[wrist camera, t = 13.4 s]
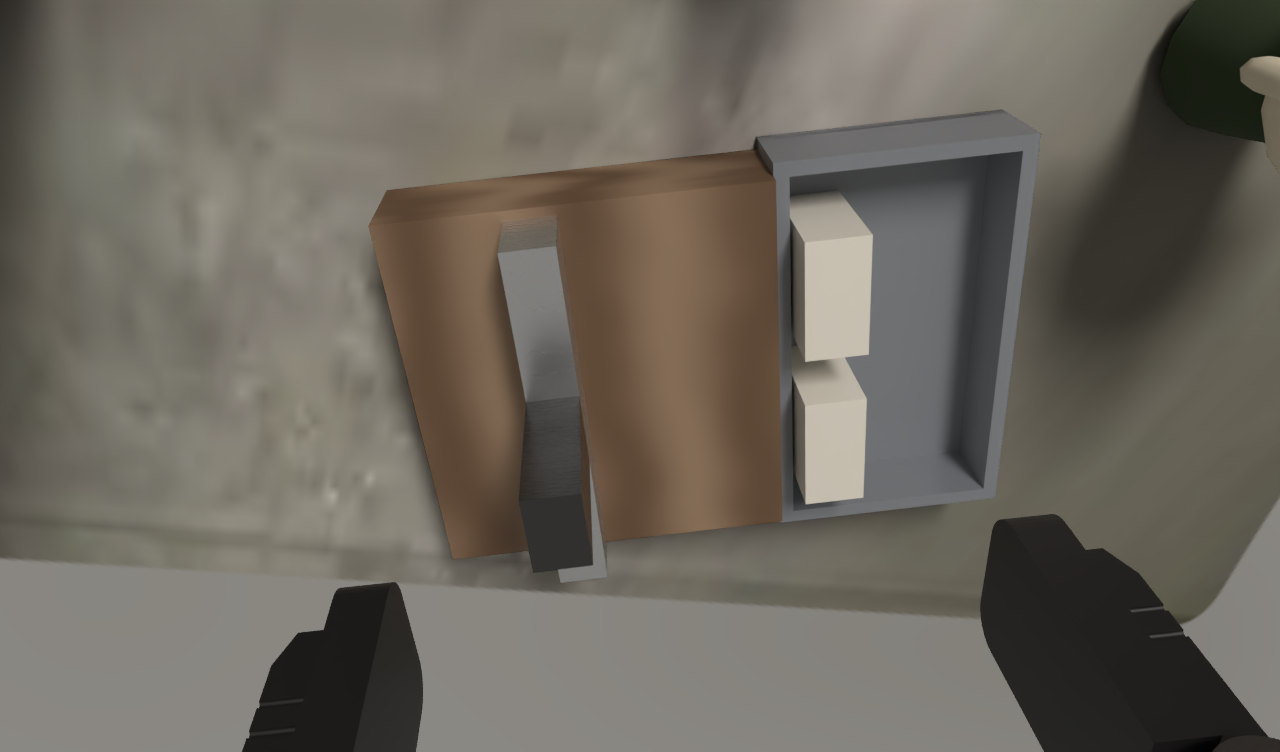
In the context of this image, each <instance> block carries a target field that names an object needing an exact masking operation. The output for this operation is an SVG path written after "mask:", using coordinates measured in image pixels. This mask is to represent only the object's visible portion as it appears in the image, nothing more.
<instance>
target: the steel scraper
mask: <svg viewBox="0 0 1280 752" xmlns="http://www.w3.org/2000/svg"><path fill="white" fill-rule="evenodd" d="M498 259H499V264H500V269H501V274H502V279H503V285H504V290H505V295H506V300H507V306H508V311H509V316H510V321H511V327H512V332H513V337H514V342H515V347H516V353H517V358H518V363H519V368H520V374H521V379H522V384H523V389H524V395H525V400H526V409H525V422H524V435H523V449H522V462H521V475H520V488H519V506H520V511H521V516H522V520H523V525H524V530H525V535H526V539H527V544H528V549H529V554H530V559H531V563H532V568H533V573H535V572H543V571H551V570H558V572H559V578H560V583H564V582H572V581H580V580H588V579H596V578H605V577H608V574H607V555H606V537H605V527H604V520H603V514H602V507H601V501H600V494H599V487H598V481H597V474H596V468H595V461H594V455H593V448H592V442H591V435H590V429H589V422H588V416H587V409H586V403H585V396H584V389H583V383H582V376H581V370H580V363H579V357H578V350H577V344H576V337H575V331H574V324H573V318H572V311H571V305H570V298H569V291H568V285H567V278H566V272H565V265H564V259H563V252H562V246H561V239H560V233H559V226H558V220H557V216H549V217H540V218H532V219H523V220H515V221H507V222H503V224H502V230H501V236H500V241H499V247H498Z"/></svg>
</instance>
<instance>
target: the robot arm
mask: <svg viewBox="0 0 1280 752" xmlns="http://www.w3.org/2000/svg"><path fill="white" fill-rule="evenodd" d="M980 611H981V622H982V627H983V631H984V635H985V638H986V641H987V644H988V647H989V649H990V651H991V653H992V655H993V657H994V658H995V660H996V662H997V664H998V666H999V668H1000V670H1001V671H1002V673H1003V675H1004V677H1005V679H1006V681H1007V683H1008V685H1009V686H1010V688H1011V690H1012V692H1013V694H1014V696H1015V698H1016V700H1017V701H1018V703H1019V705H1020V707H1021V709H1022V711H1023V713H1024V715H1025V717H1026V718H1027V720H1028V722H1029V724H1030V726H1031V728H1032V730H1033V732H1034V734H1035V735H1036V737H1037V739H1038V741H1039V743H1040V745H1041V746H1042V749H1043V750H1044V752H1280V740H1279V739H1275V738H1270V737H1268V736H1267V735H1266V733H1265V732H1264V731H1263V730H1262V729H1261V727H1260V726H1259V725H1258V724H1257V722H1256V721H1255V720H1254V719H1253V717H1252V716H1251V715H1250V713H1249V712H1248V711H1247V710H1246V708H1245V707H1244V706H1243V705H1242V703H1241V702H1240V701H1239V699H1238V698H1237V697H1236V696H1235V695H1234V693H1233V692H1232V691H1231V689H1230V688H1229V687H1228V686H1227V684H1226V683H1225V682H1224V681H1223V679H1222V678H1221V677H1220V675H1219V674H1218V673H1217V672H1216V671H1215V669H1214V668H1213V667H1212V665H1211V664H1210V663H1209V661H1208V660H1207V659H1206V658H1205V657H1204V655H1203V654H1202V653H1201V651H1200V650H1199V649H1198V648H1197V646H1196V645H1195V644H1194V643H1193V641H1192V640H1191V639H1190V637H1185V635H1184V633H1183V629H1182V627H1181V626H1180V625H1179V624H1178V622H1177V621H1176V620H1175V618H1174V617H1173V616H1172V615H1171V613H1170V612H1169V611H1165V610H1164V608H1163V603H1162V602H1161V601H1160V599H1159V598H1158V597H1157V596H1156V594H1155V593H1154V592H1153V591H1152V589H1151V588H1150V587H1149V586H1148V584H1147V583H1146V582H1145V580H1144V579H1143V578H1142V577H1141V575H1140V574H1139V573H1138V572H1136V571H1135V570H1133V569H1132V568H1130V567H1129V566H1127V565H1126V564H1125V563H1123V562H1122V561H1120V560H1119V559H1117V558H1116V557H1114V556H1113V555H1112V554H1110V553H1109V552H1107V551H1106V550H1104V549H1103V548H1100V549H1091V550H1085V549H1084V547H1083V546H1082V544H1081V543H1080V542H1079V540H1078V539H1077V538H1076V536H1075V535H1074V534H1073V532H1072V531H1071V530H1070V528H1069V527H1068V526H1067V524H1066V523H1065V522H1064V521H1063V519H1062V518H1060V517H1059V516H1057V515H1055V514H1049V515H1039V516H1030V517H1021V518H1011V519H1002V520H998V521H997V522H996V523H995V525H994V527H993V530H992V535H991V541H990V547H989V553H988V559H987V566H986V572H985V578H984V584H983V590H982V597H981V605H980ZM259 703H260V707H259V708H257V709H256V712H255V715H254V718H253V721H252V724H251V727H250V730H249V732H250V736H249V738H247V739H246V742H245V745H244V748H243V751H242V752H416V747H417V740H418V733H419V727H420V720H421V714H422V704H423V682H422V671H421V665H420V660H419V656H418V653H417V649H416V645H415V641H414V638H413V634H412V631H411V627H410V623H409V619H408V616H407V612H406V609H405V605H404V601H403V597H402V593H401V590H400V588H399V586H398V584H397V583H396V582H391V583H382V584H372V585H363V586H354V587H345V588H339V589H338V590H337V591H336V592H335V594H334V597H333V600H332V603H331V607H330V610H329V614H328V617H327V620H326V624H325V627H324V630H320V631H311V632H302V633H298V634H297V635H296V636H295V637H294V639H293V640H292V641H291V642H290V644H289V645H288V646H287V647H286V648H285V650H284V651H283V652H282V653H281V655H280V656H279V657H278V658H277V659H276V661H275V662H274V663H273V665H272V666H271V668H270V671H269V674H268V677H267V681H266V683H265V686H264V689H263V692H262V695H261V698H260V701H259Z"/></svg>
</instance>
